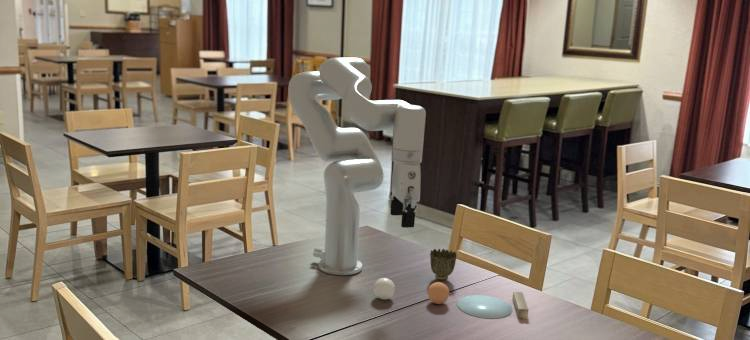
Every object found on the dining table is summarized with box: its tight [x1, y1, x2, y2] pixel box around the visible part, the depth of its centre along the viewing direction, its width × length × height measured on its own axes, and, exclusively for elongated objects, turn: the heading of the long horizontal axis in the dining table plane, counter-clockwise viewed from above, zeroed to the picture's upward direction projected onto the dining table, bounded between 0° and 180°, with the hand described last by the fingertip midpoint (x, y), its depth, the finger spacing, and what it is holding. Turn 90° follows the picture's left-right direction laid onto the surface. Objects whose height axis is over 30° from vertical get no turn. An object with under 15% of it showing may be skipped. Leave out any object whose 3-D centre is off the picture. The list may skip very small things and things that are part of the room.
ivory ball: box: [373, 277, 396, 300], centre depth 178 cm, size 6×6×6 cm
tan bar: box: [512, 291, 529, 320], centre depth 176 cm, size 2×11×2 cm, turn 176°
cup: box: [429, 248, 457, 282], centre depth 193 cm, size 8×7×8 cm
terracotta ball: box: [427, 281, 450, 305], centre depth 177 cm, size 6×6×6 cm
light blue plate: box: [456, 294, 513, 320], centre depth 177 cm, size 14×14×1 cm
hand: (401, 220), depth 175 cm, fingers open, 9 cm apart
